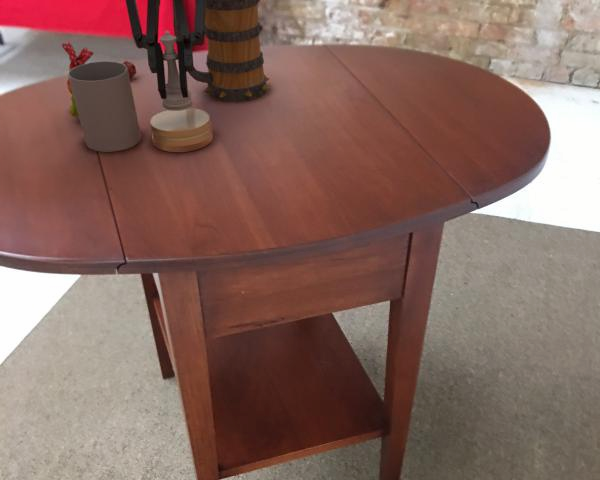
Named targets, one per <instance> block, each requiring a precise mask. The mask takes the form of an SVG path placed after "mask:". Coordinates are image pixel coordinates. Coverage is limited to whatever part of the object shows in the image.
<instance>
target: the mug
mask: <svg viewBox="0 0 600 480" xmlns="http://www.w3.org/2000/svg"><path fill="white" fill-rule="evenodd" d="M171 2H172V11H173V12H172V13H173V14H172V16H173V19H172V20H173V32H174V33H173V34H174V36H176V38H177V39H176V41H175V45H177V42H182V37H181V32H180V27H179V22H178V17H177V12H176V7H175V2H174V0H172V1H171ZM260 2H261V0H206V18H205V38H206V41H207V55H206V62H205V65H206V67H207V69H208V71H200V70H198V69H197V68H195V66H194V68H193V71H190V72H187V73H188V75H189V76H190V77H191V78H192V79H194V80H195V81H196V82H200V83H204V84H207V87H206V88H205V89H204V90H203V92H204V93H207V94H208V95H209V96H210V97H212V98H213V99H214V100H218V101H223V102H237V103H238V102H244V101H251V100H255V99H257V98H261V97H262V96H263V95H265V94H266V92H268V90H270V89H271V87H270V86H268V85H267V82H268V81H269V80H270V77H268V76H266V75H265V71H264V63H265V59H264V53H263V52H262V51H261V44H260V43H261V42H260V34H261V32H262V31H263V25H261V23H260V22H259V3H260Z"/></svg>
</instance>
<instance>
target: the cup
mask: <svg viewBox="0 0 600 480" xmlns="http://www.w3.org/2000/svg"><path fill="white" fill-rule="evenodd" d="M67 77H68V78H69V81H70V85H71V88H72V92H73V96H74V100H75V104H76V108H77V112H78V115H79V116H78V119H79V123H80V126H81V130H82V134H83V139H84V142H85V144H86V146H87V148H89V149H90V150H93V151H95V152H101V153H102V152H103V153H110V152H111V153H112V152H113V153H114V152H119V151H124V150H127V149H130V148H133V147H134V146H136V145H137V144H139V143H140V141H141V140H142V133H141V129H140V125H139V124H140V123H139V120H138V114H137V108H136V104H135V98H134V94H133V88H132V83H131V78H129V73H128V68H127V67H126V66H125V65H124V64H122V63H121V62H117V61H107V60H106V61H103V60H102V61H93V62H92V61H91V62H87V63H85V64H83V65H79V66H77V67H75V68H73V69H71V70H70V71H69V70H68V73H67Z"/></svg>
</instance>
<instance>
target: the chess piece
mask: <svg viewBox="0 0 600 480" xmlns="http://www.w3.org/2000/svg"><path fill="white" fill-rule="evenodd" d="M176 39H177V38H176V36H175V35H172V34H170V30H165V31H164V35H162V36H160V37H159V41H160V43H161V45H163V47H164V51H163V55H162V59H163V60H164V62H166V64H167V65H166V66H167V82H166V83H165V84H166V97H167V99H162V107H163V108H164V109H165V110H171V111H180V110H185V109H188V108H192V106H193V98H192V93H191V92H190V90H189V89H188V98H183V96H182V92H181V89H180V77H179V69H178V67H177V61H178V52H176V49H175V45H176Z"/></svg>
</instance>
